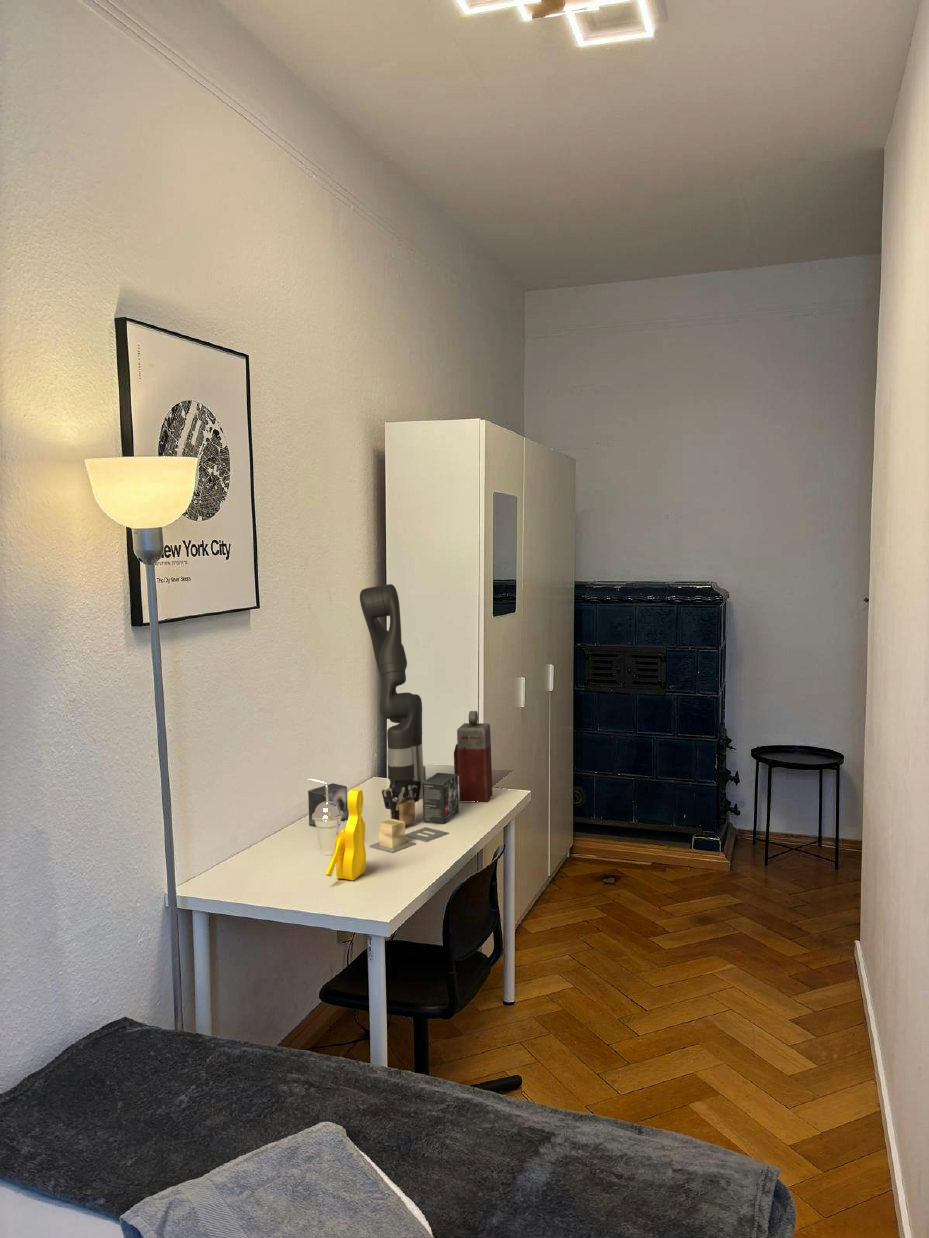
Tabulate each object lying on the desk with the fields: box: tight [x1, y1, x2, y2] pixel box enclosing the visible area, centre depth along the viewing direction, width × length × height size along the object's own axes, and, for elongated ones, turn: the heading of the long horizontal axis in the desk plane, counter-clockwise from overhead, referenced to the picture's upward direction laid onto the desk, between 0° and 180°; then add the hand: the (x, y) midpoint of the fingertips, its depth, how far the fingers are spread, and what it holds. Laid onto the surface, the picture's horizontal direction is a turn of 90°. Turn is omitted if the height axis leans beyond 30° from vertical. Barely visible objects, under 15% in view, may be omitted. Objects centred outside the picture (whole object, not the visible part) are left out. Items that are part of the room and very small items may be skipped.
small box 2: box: [422, 772, 460, 825], centre depth 283 cm, size 13×7×12 cm, turn 161°
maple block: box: [378, 818, 407, 848], centre depth 258 cm, size 5×5×6 cm
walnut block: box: [389, 798, 416, 826], centre depth 275 cm, size 5×5×6 cm
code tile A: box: [405, 826, 449, 843], centre depth 267 cm, size 9×9×1 cm
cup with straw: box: [307, 777, 344, 856], centre depth 254 cm, size 8×9×20 cm
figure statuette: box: [325, 788, 367, 881], centre depth 235 cm, size 18×8×22 cm, turn 159°
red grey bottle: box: [453, 710, 493, 803], centre depth 302 cm, size 9×11×28 cm
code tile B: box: [369, 840, 417, 854], centre depth 259 cm, size 9×9×1 cm
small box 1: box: [307, 782, 349, 828], centre depth 282 cm, size 11×6×10 cm, turn 143°
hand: (403, 819), depth 276 cm, fingers closed on walnut block, 5 cm apart
